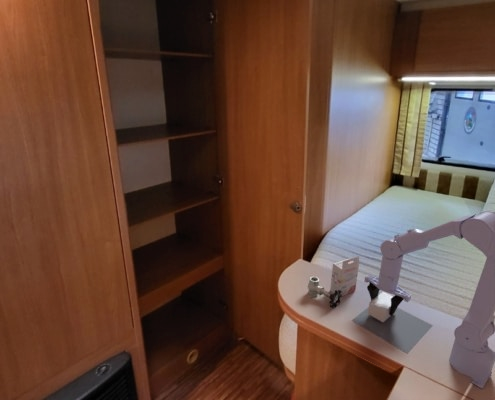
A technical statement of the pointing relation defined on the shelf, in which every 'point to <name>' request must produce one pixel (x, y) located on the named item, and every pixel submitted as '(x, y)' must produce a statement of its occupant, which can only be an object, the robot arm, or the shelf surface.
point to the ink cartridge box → (345, 275)
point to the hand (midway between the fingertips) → (382, 309)
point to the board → (395, 328)
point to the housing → (380, 307)
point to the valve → (323, 292)
